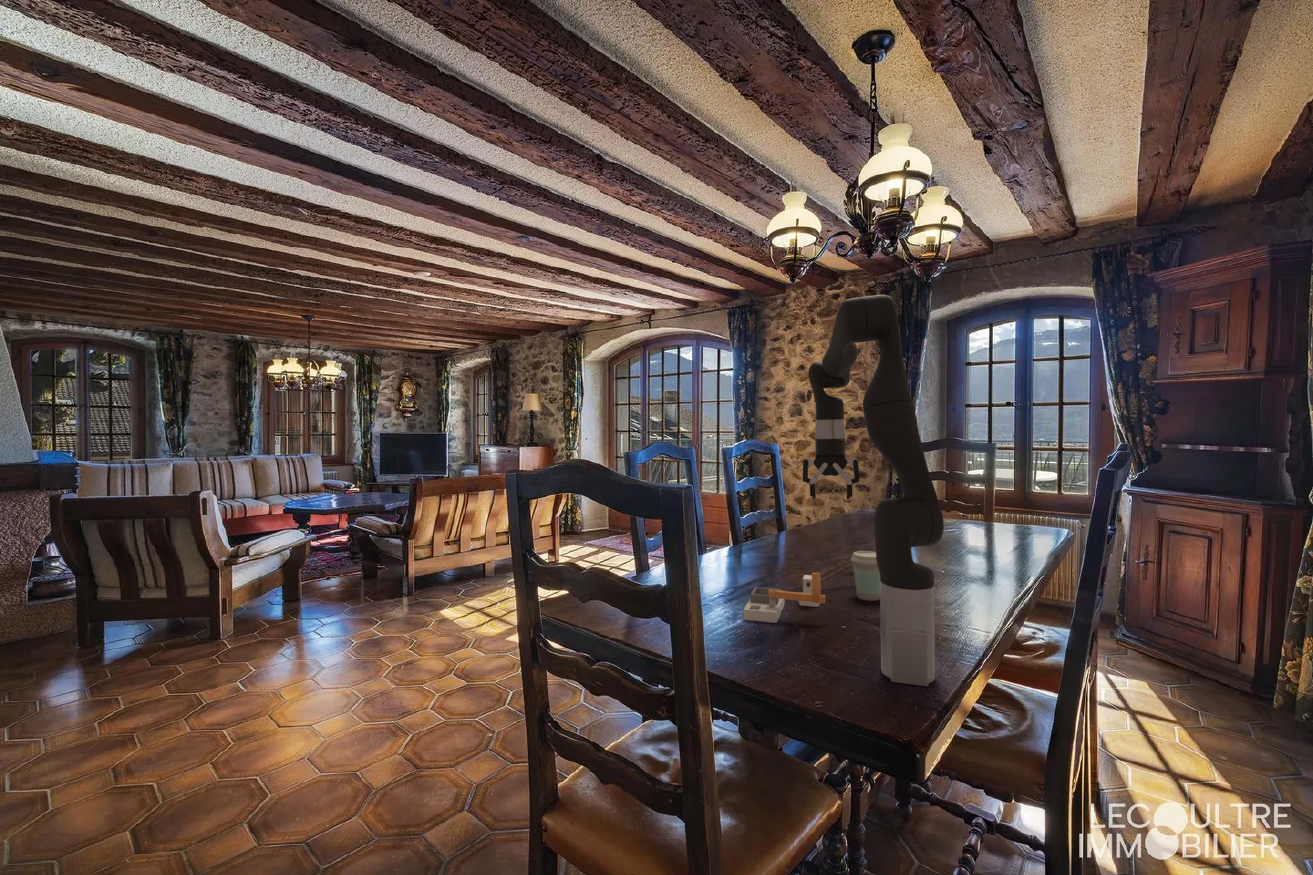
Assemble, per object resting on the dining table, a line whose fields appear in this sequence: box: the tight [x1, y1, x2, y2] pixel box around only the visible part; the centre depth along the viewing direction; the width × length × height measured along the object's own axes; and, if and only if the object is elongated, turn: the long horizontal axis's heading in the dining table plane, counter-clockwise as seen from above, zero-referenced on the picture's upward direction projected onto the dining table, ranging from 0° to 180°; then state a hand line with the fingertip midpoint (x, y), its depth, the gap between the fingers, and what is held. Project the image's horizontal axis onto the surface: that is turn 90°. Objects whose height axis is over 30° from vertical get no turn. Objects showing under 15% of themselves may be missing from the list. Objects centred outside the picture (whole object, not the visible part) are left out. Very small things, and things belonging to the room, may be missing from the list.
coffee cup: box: [850, 550, 880, 602], centre depth 150 cm, size 8×8×12 cm
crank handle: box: [769, 571, 826, 604], centre depth 134 cm, size 14×2×7 cm, turn 67°
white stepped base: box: [743, 586, 786, 624], centre depth 140 cm, size 15×8×4 cm, turn 160°
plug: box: [798, 574, 821, 608], centre depth 146 cm, size 6×5×7 cm
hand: (830, 498), depth 145 cm, fingers open, 8 cm apart
